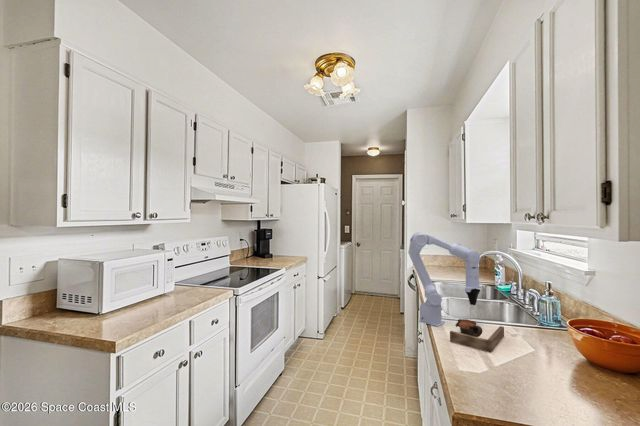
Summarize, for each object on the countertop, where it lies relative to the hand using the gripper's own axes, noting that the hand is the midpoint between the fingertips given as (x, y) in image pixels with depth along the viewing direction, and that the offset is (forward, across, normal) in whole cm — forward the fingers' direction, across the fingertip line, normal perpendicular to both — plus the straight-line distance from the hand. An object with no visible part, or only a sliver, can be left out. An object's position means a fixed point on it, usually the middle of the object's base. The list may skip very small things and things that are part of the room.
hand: (472, 304), depth 140 cm
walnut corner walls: (+9, -17, -6) cm, 20 cm away
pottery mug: (+10, -17, -3) cm, 20 cm away
